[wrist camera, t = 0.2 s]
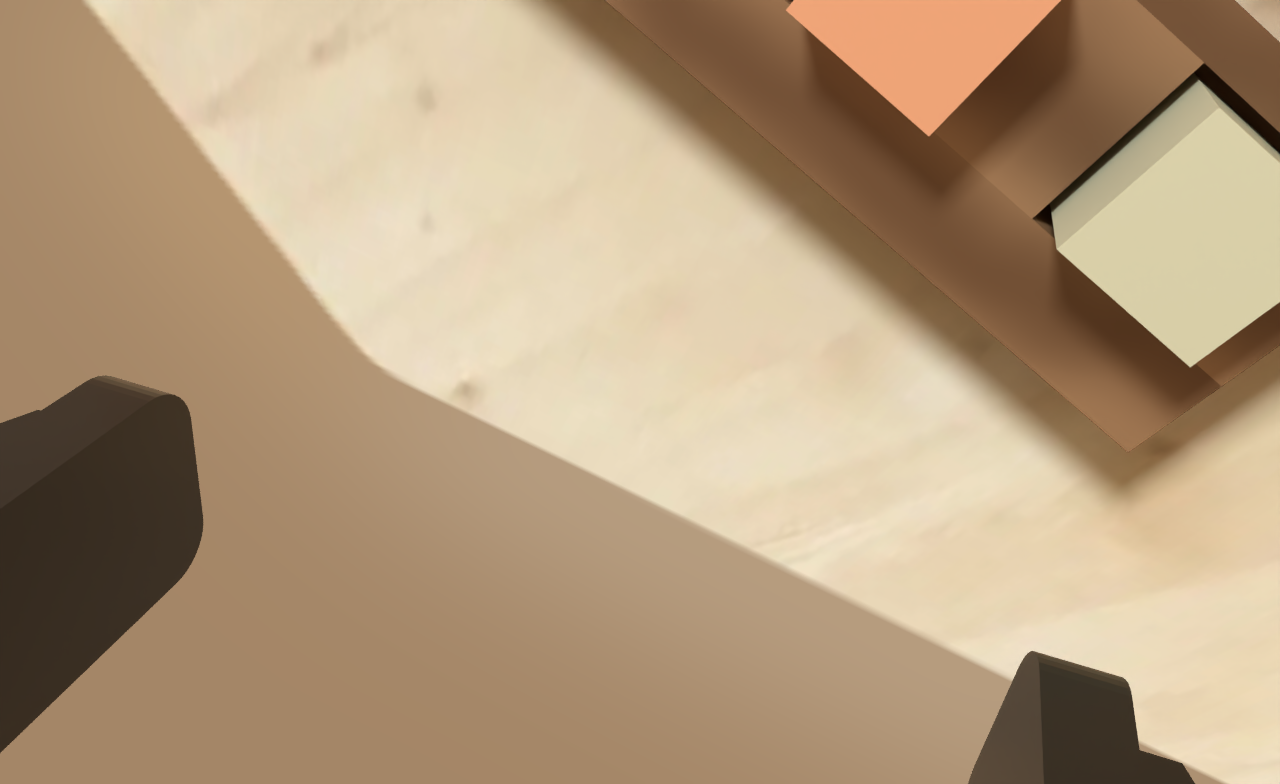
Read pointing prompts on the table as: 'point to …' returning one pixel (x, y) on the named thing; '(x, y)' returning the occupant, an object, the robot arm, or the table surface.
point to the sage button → (1180, 222)
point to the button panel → (1000, 169)
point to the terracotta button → (922, 45)
